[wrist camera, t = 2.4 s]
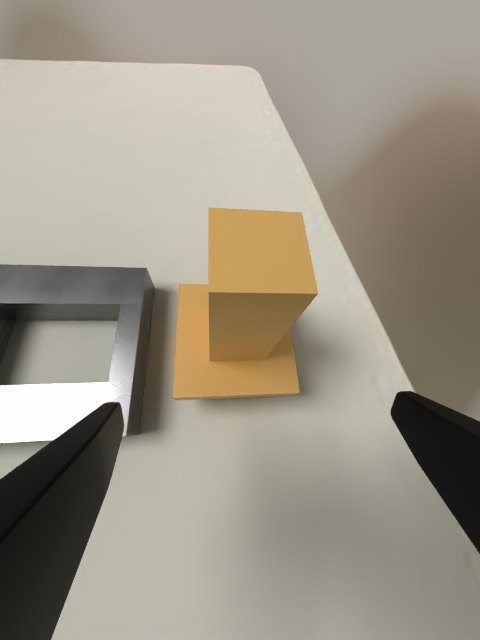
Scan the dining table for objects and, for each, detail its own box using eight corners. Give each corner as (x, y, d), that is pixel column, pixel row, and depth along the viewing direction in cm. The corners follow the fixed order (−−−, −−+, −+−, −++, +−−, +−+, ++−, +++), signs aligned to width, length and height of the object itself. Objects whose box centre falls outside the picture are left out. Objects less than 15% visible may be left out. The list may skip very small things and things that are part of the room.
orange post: (282, 398, 19) (399, 357, 7) (180, 403, 18) (125, 363, 6) (272, 308, 22) (342, 177, 11) (184, 308, 21) (152, 163, 10)
